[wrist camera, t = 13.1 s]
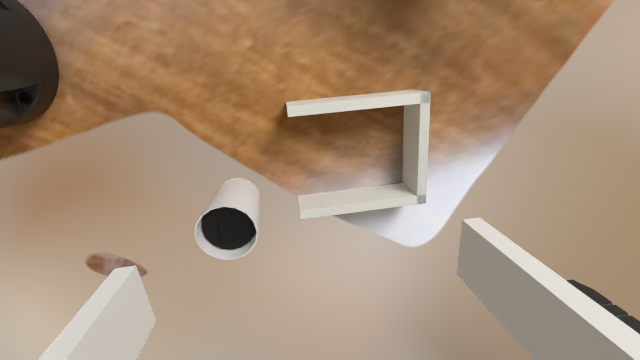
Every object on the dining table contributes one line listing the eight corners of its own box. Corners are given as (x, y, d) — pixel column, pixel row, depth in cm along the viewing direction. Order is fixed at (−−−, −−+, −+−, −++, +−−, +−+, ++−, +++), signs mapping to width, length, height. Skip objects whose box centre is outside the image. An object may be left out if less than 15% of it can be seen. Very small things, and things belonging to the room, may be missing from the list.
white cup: (264, 217, 43) (260, 257, 33) (217, 220, 42) (198, 262, 32) (261, 173, 40) (255, 203, 31) (210, 175, 39) (189, 207, 30)
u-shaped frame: (285, 101, 37) (286, 106, 33) (412, 89, 39) (430, 91, 34) (298, 203, 42) (300, 219, 38) (410, 189, 44) (425, 203, 39)
